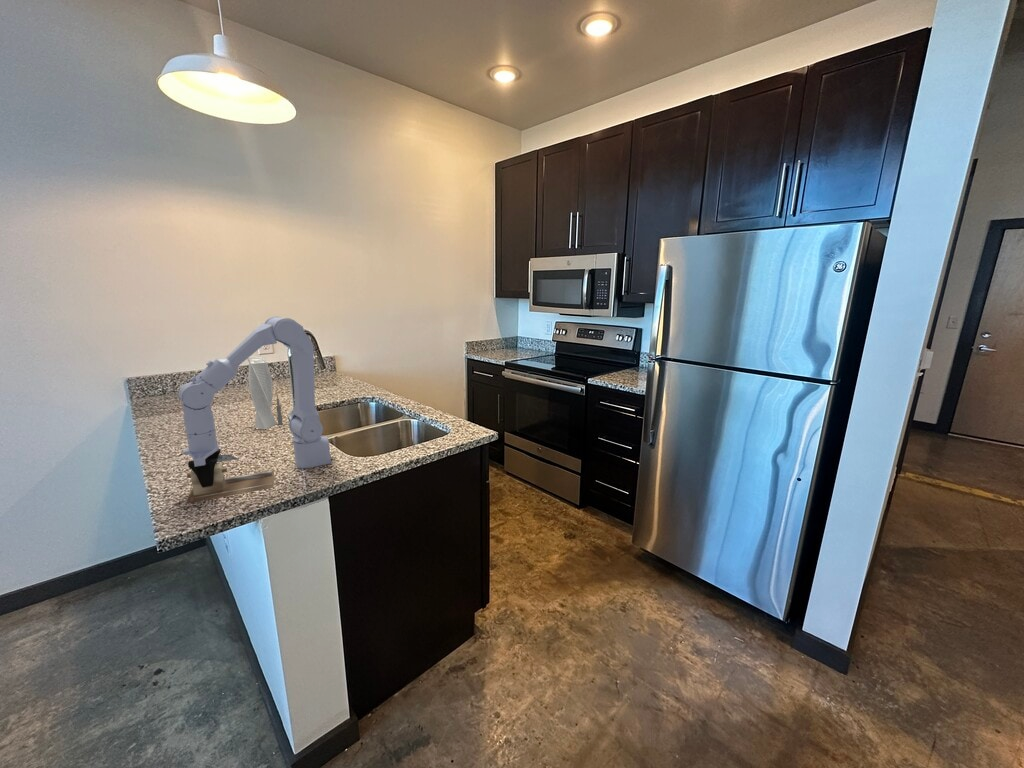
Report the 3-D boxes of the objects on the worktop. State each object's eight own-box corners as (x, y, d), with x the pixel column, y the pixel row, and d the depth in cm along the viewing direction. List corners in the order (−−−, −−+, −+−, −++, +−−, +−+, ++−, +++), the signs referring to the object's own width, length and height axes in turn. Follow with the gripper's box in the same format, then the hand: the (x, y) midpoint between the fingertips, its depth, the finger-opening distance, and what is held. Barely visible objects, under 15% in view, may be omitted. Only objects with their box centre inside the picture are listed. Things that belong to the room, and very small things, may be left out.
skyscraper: (267, 432, 151) (258, 357, 145) (249, 431, 153) (239, 356, 147) (284, 425, 159) (276, 354, 153) (266, 424, 161) (258, 353, 155)
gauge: (230, 483, 107) (226, 461, 106) (228, 489, 103) (225, 467, 102) (191, 489, 103) (188, 467, 102) (188, 496, 100) (184, 473, 98)
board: (274, 475, 115) (273, 466, 115) (274, 492, 105) (273, 483, 105) (195, 488, 107) (194, 479, 106) (186, 509, 97) (184, 499, 96)
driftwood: (199, 459, 127) (198, 452, 127) (224, 452, 132) (223, 446, 132) (228, 477, 116) (227, 470, 115) (254, 469, 121) (253, 462, 121)
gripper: (186, 425, 104) (194, 474, 107) (173, 443, 92) (183, 498, 95) (219, 421, 108) (226, 469, 111) (212, 438, 95) (220, 491, 98)
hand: (209, 482), depth 103 cm, fingers closed on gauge, 4 cm apart
